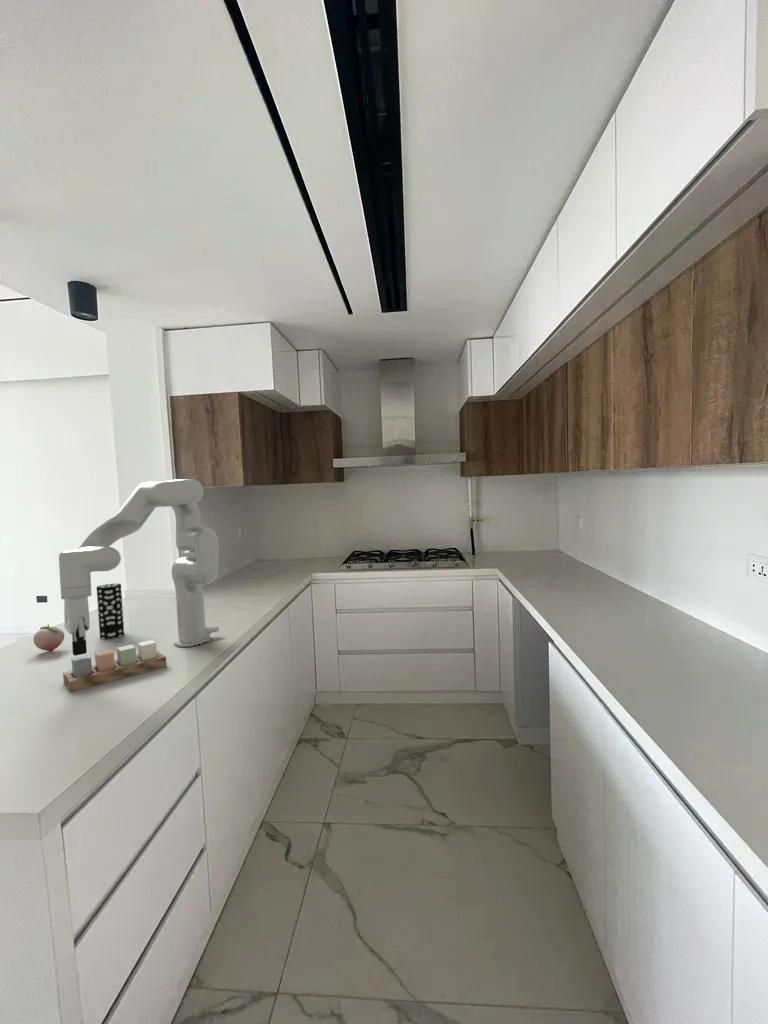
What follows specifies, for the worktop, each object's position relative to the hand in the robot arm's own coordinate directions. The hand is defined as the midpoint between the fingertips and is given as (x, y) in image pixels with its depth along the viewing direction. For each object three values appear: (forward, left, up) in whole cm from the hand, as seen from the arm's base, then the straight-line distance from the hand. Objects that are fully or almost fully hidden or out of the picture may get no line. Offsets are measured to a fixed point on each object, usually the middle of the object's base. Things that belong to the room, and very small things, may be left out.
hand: (79, 653), depth 139 cm
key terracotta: (-6, 0, -6) cm, 9 cm away
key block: (-9, 0, -9) cm, 13 cm away
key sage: (-12, 0, -6) cm, 14 cm away
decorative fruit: (+2, -43, -9) cm, 44 cm away
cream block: (-18, 0, -6) cm, 19 cm away
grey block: (0, 0, -6) cm, 6 cm away
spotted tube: (-19, -47, -9) cm, 52 cm away
